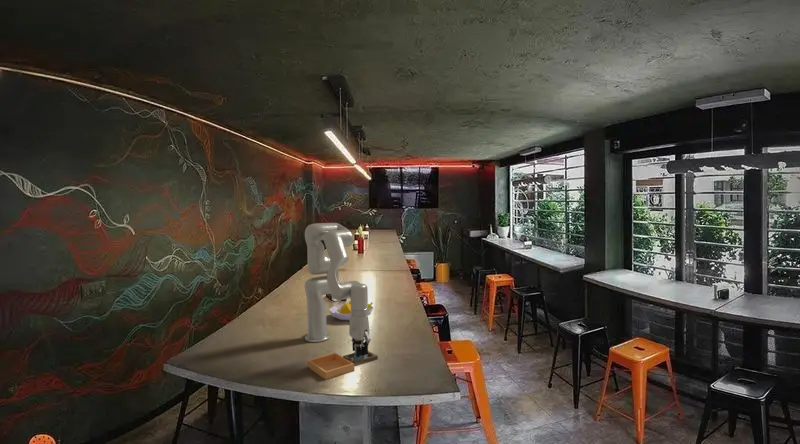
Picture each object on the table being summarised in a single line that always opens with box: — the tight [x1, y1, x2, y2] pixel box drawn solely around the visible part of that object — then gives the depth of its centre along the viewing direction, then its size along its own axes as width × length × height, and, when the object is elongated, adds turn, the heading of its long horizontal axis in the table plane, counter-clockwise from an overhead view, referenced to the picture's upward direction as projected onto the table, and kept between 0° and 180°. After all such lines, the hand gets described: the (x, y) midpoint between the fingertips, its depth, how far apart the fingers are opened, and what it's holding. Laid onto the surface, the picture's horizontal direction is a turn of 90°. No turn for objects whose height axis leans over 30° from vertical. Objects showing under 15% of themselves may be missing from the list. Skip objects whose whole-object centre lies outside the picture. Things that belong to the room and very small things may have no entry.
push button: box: [351, 338, 368, 361], centre depth 172 cm, size 7×5×10 cm
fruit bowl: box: [328, 300, 375, 322], centre depth 237 cm, size 28×27×11 cm
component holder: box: [342, 350, 379, 367], centre depth 172 cm, size 10×12×2 cm
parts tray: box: [307, 352, 356, 381], centre depth 162 cm, size 16×13×3 cm
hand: (360, 352), depth 172 cm, fingers open, 6 cm apart
